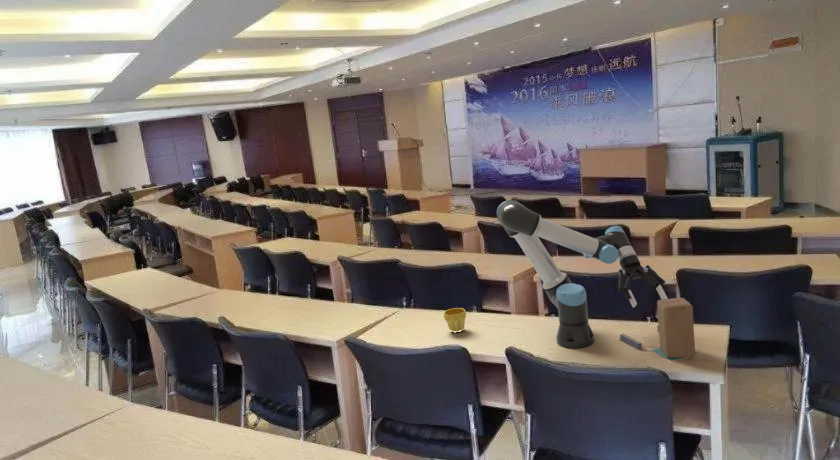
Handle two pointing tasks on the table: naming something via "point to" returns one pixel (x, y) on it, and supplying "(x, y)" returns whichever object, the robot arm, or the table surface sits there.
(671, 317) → the wooden block
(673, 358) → the mat
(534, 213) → the robot arm
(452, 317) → the plant pot
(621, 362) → the table surface
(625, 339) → the chute
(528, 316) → the table surface
